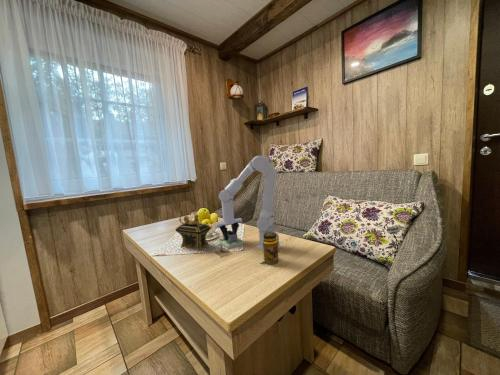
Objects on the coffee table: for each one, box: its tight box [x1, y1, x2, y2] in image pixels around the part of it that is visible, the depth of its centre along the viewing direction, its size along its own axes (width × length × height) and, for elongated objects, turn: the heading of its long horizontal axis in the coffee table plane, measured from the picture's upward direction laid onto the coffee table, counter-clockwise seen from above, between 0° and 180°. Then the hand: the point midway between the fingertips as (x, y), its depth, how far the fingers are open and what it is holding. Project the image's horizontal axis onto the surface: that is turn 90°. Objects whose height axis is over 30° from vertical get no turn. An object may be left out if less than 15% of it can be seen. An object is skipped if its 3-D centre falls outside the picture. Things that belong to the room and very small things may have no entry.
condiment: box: [259, 232, 283, 267], centre depth 89 cm, size 7×8×12 cm
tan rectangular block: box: [213, 243, 233, 259], centre depth 100 cm, size 9×6×4 cm, turn 33°
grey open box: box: [222, 229, 238, 243], centre depth 112 cm, size 9×4×4 cm, turn 33°
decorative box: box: [175, 208, 212, 251], centre depth 112 cm, size 20×10×20 cm, turn 61°
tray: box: [216, 237, 246, 250], centre depth 112 cm, size 13×10×2 cm
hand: (230, 238), depth 112 cm, fingers closed on grey open box, 4 cm apart
